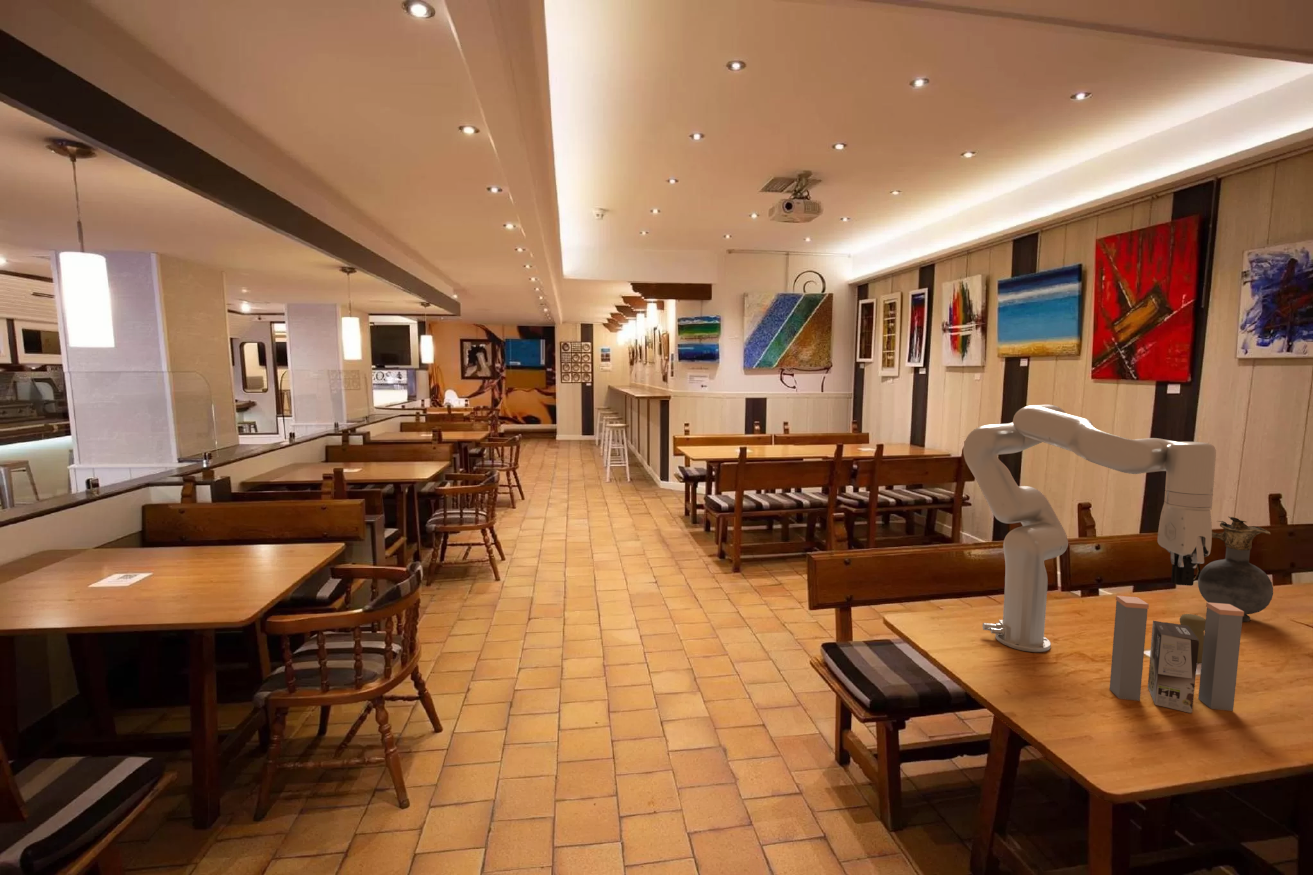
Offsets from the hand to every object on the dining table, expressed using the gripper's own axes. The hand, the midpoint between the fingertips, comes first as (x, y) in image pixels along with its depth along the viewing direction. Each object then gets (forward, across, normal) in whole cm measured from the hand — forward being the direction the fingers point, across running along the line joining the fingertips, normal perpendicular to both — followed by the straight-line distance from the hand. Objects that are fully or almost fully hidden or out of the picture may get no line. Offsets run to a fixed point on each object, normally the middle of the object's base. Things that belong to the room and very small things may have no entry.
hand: (1182, 583), depth 125 cm
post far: (+27, -1, +8) cm, 28 cm away
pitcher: (+26, -59, +44) cm, 78 cm away
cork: (+27, -25, +16) cm, 40 cm away
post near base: (+26, -1, -9) cm, 28 cm away
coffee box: (+27, -1, 0) cm, 27 cm away
